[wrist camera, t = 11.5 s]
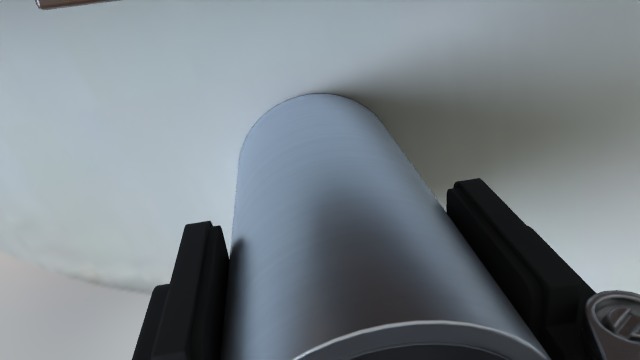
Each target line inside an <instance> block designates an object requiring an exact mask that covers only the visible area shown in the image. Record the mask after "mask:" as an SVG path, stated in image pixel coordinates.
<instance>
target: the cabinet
mask: <svg viewBox="0 0 640 360" xmlns="http://www.w3.org/2000/svg"><path fill="white" fill-rule="evenodd" d="M35 1H36V4H37V6H38V7H39V9H43V10H49V9H56V8H64V7H72V6H79V5H87V4H95V3H102V2H110V1H118V0H35Z"/></svg>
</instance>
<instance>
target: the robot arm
mask: <svg viewBox="0 0 640 360" xmlns="http://www.w3.org/2000/svg"><path fill="white" fill-rule="evenodd" d="M446 213H447V214H448V216H449V217H450V219H451V220H452V221H453V223H454V224H455V226H456V227H457V228H458V230H459V231H460V233H461V234H462V235H463V237H464V238H465V240H466V241H467V242H468V244H469V245H470V247H471V248H472V249H473V251H474V252H475V254H476V255H477V256H478V258H479V259H480V261H481V262H482V263H483V265H484V266H485V268H486V269H487V270H488V272H489V273H490V275H491V276H492V277H493V279H494V280H495V282H496V283H497V284H498V286H499V287H500V289H501V290H502V291H503V293H504V294H505V296H506V297H507V298H508V300H509V301H510V302H511V304H512V305H513V307H514V308H515V309H516V311H517V312H518V314H519V315H520V316H521V318H522V319H523V321H524V322H525V323H526V325H527V326H528V328H529V329H530V330H531V332H532V333H533V335H534V336H535V337H536V339H537V340H538V342H539V343H540V344H541V346H542V347H543V349H544V350H545V351H546V353H547V354H548V356H549V357H550V358H551V360H640V294H636V293H633V292H626V291H618V290H615V291H603V292H600V293H597V294H596V293H595V292H594V291H593V290H592V289H591V288H590V287H589V286H588V285H587V284H586V283H585V282H584V281H583V280H582V278H581V277H580V276H579V275H578V274H577V273H576V272H575V271H574V270H573V269H572V268H571V267H570V266H569V265H568V264H567V263H566V262H565V261H564V260H563V259H562V258H561V257H560V256H559V255H558V254H557V253H556V252H555V251H554V250H553V249H552V248H551V247H550V246H549V245H548V244H547V243H546V242H545V241H544V240H543V239H542V238H541V237H540V236H539V235H538V234H537V233H536V232H535V231H534V230H533V229H532V228H531V227H529V226H527V225H526V224H525V223H524V222H523V221H522V220H521V219H520V218H519V217H518V216H517V215H516V214H515V213H514V212H513V211H512V210H511V209H510V208H509V207H508V206H507V205H506V204H505V203H504V202H503V201H502V200H501V199H500V198H499V197H498V196H497V195H496V194H495V193H494V192H493V191H492V190H491V189H490V188H489V187H488V185H487V184H486V183H485V182H484V181H483V180H481V179H480V178H477V179H471V180H464V181H458V182H455V184H454V187H453V188H452V189H448V191H447V212H446ZM228 270H229V256H228V252H227V248H226V244H225V240H224V236H223V232H222V228H221V226H213V225H212V223H211V221H206V222H199V223H193V224H187V225H185V228H184V232H183V236H182V239H181V243H180V247H179V251H178V255H177V258H176V262H175V266H174V270H173V274H172V278H171V281H170V284H165V285H159V286H156V287H155V288H154V290H153V292H152V296H151V299H150V302H149V305H148V309H147V312H146V315H145V319H144V322H143V325H142V328H141V332H140V335H139V338H138V341H137V345H136V348H135V351H134V355H133V358H132V360H220V357H221V346H222V335H223V324H224V313H225V303H226V292H227V281H228Z"/></svg>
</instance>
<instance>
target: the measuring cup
mask: <svg viewBox="0 0 640 360" xmlns="http://www.w3.org/2000/svg"><path fill="white" fill-rule="evenodd" d="M220 360H551V358H550V357H549V356H548V354H547V353H546V351H545V350H544V349H543V347H542V346H541V344H540V343H539V342H538V340H537V339H536V337H535V336H534V335H533V333H532V332H531V330H530V329H529V328H528V326H527V325H526V323H525V322H524V321H523V319H522V318H521V316H520V315H519V314H518V312H517V311H516V309H515V308H514V307H513V305H512V304H511V302H510V301H509V300H508V298H507V297H506V296H505V294H504V293H503V291H502V290H501V289H500V287H499V286H498V284H497V283H496V282H495V280H494V279H493V277H492V276H491V275H490V273H489V272H488V270H487V269H486V268H485V266H484V265H483V263H482V262H481V261H480V259H479V258H478V256H477V255H476V254H475V252H474V251H473V249H472V248H471V247H470V245H469V244H468V242H467V241H466V240H465V238H464V237H463V235H462V234H461V233H460V231H459V230H458V228H457V227H456V226H455V224H454V223H453V221H452V220H451V219H450V217H449V216H448V214H447V213H446V212H445V210H444V209H443V208H442V206H441V205H440V203H439V202H438V201H437V199H436V198H435V196H434V195H433V194H432V192H431V191H430V189H429V188H428V187H427V185H426V184H425V182H424V181H423V180H422V178H421V177H420V175H419V174H418V173H417V171H416V170H415V168H414V167H413V166H412V164H411V163H410V161H409V160H408V159H407V157H406V156H405V154H404V153H403V152H402V150H401V149H400V147H399V146H398V145H397V143H396V142H395V140H394V139H393V138H392V136H391V135H390V133H389V132H388V131H387V129H386V128H385V126H384V125H383V124H382V123H381V121H380V120H379V119H378V118H377V117H376V116H375V115H374V114H373V113H372V112H371V111H370V110H369V109H367V108H366V107H364V106H363V105H361V104H359V103H357V102H355V101H353V100H351V99H348V98H345V97H342V96H337V95H332V94H308V95H304V96H299V97H295V98H292V99H290V100H287V101H285V102H283V103H281V104H279V105H277V106H275V107H274V108H272V109H271V110H269V111H268V112H267V113H266V114H264V115H263V116H262V117H261V118H260V119H259V120H258V121H257V122H256V124H255V125H254V126H253V127H252V129H251V130H250V132H249V133H248V135H247V137H246V139H245V141H244V143H243V146H242V149H241V152H240V157H239V163H238V173H237V184H236V195H235V206H234V217H233V227H232V238H231V249H230V260H229V270H228V281H227V292H226V303H225V313H224V324H223V335H222V346H221V357H220Z"/></svg>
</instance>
